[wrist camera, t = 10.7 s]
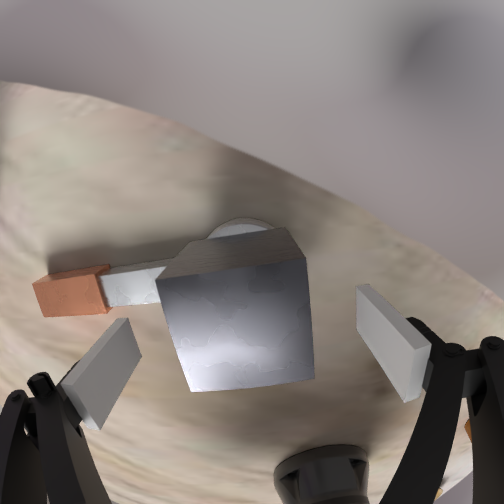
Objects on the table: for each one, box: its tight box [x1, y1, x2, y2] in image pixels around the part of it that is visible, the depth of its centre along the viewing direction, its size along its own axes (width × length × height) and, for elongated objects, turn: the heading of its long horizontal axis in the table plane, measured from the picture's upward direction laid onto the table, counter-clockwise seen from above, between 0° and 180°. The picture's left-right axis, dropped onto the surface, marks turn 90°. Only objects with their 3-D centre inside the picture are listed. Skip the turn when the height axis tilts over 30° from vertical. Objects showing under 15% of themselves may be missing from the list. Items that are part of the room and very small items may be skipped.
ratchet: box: [32, 218, 275, 317], centre depth 20 cm, size 8×26×10 cm, turn 99°
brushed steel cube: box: [155, 227, 315, 392], centre depth 17 cm, size 7×7×8 cm
